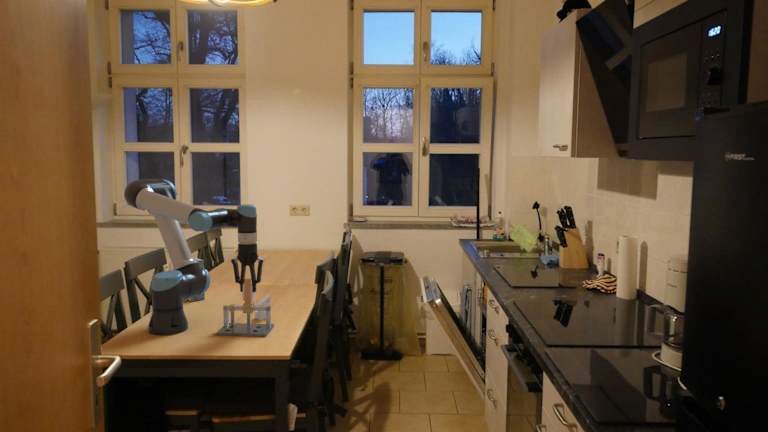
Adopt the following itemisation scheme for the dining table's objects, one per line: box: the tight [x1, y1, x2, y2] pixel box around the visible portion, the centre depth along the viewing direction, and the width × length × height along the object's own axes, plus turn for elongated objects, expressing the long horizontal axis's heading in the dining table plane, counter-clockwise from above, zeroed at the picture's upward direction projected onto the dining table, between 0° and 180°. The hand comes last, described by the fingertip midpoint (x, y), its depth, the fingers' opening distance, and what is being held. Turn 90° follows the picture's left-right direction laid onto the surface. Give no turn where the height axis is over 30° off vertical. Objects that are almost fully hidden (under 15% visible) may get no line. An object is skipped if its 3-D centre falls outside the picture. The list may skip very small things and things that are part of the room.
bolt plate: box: [215, 322, 275, 338], centre depth 222 cm, size 20×13×1 cm, turn 88°
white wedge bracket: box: [254, 294, 272, 321], centre depth 241 cm, size 4×10×9 cm
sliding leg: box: [242, 277, 255, 326], centre depth 223 cm, size 4×4×20 cm
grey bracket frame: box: [223, 303, 272, 328], centre depth 224 cm, size 19×2×9 cm, turn 88°
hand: (248, 299), depth 223 cm, fingers closed on sliding leg, 2 cm apart
